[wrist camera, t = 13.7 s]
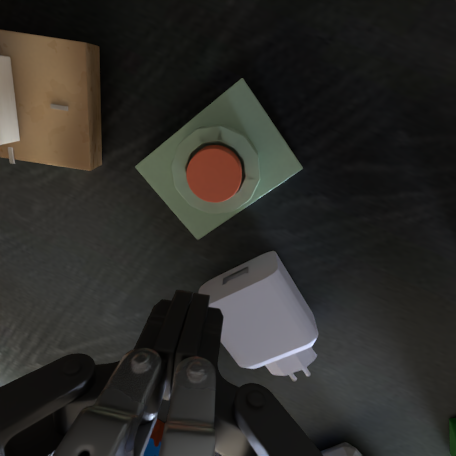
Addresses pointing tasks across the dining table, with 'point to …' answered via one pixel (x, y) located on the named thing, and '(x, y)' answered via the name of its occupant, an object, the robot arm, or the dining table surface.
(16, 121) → the knob
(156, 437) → the thermos
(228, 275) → the charger
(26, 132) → the panel
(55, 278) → the dining table surface
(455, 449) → the milk carton
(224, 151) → the button
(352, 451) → the decorative tray
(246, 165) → the button box
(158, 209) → the dining table surface
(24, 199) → the dining table surface
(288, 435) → the robot arm
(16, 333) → the dining table surface
